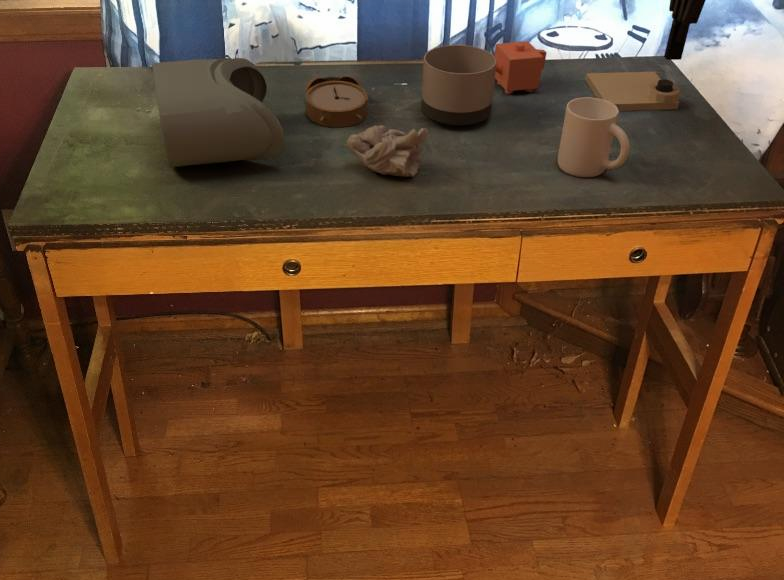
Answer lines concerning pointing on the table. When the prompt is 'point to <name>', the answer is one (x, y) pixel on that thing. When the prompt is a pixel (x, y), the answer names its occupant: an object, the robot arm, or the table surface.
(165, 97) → the grey curved shell
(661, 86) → the button
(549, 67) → the table surface
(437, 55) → the planter
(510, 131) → the table surface
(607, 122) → the mug
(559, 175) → the table surface
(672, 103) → the scale
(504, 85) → the orange footed box
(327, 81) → the alarm clock
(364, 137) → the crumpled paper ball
